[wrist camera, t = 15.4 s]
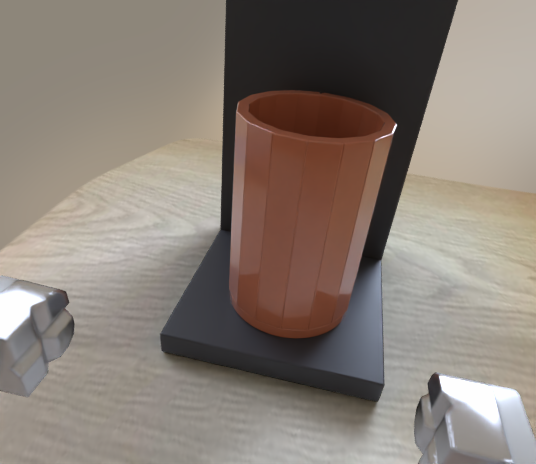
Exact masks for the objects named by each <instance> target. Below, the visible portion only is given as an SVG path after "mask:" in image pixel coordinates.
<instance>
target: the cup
mask: <svg viewBox="0 0 536 464" xmlns="http://www.w3.org/2000/svg"><path fill="white" fill-rule="evenodd" d="M396 127H397V124H396V123H395V121H394V120H393V119H392V118H391V116H390V115H389V114H388V113H386V112H384V111H382V110H380V109H378V108H377V107H375V106H373V105H371V104H368V103H365V102H362V101H359V100H355V99H352V98H349V97H344V96H339V95H334V94H328V93H321V92H312V91H300V90H296V91H295V90H283V91H268V92H263V93H258V94H253V95H249V96H248V97H246V98H244V99H242V100H240V101H239V102H238V104H237V110H236V128H235V152H234V176H233V200H232V224H231V248H230V273H229V296H230V300H231V303H232V305H233V307H234V309H235V310H236V312H237V313H238V314H239V316H240V317H241V318H242V319H244V320H245V321H246V322H247V323H248V324H250V325H251V326H253V327H255V328H256V329H258V330H260V331H263V332H265V333H268V334H271V335H274V336H278V337H283V338H310V337H315V336H319V335H321V334H324V333H326V332H328V331H330V330H332V329H333V328H335V327H336V326H337V325H338V324H340V323H341V322H342V320H343V319H344V317H345V316H346V314H347V312H348V308H349V304H350V301H351V298H352V295H353V291H354V287H355V283H356V279H357V276H358V272H359V268H360V264H361V260H362V257H363V253H364V249H365V245H366V241H367V238H368V234H369V230H370V226H371V222H372V219H373V215H374V211H375V207H376V203H377V199H378V196H379V192H380V188H381V184H382V180H383V177H384V173H385V169H386V165H387V161H388V158H389V154H390V150H391V146H392V142H393V138H394V135H395V131H396Z"/></svg>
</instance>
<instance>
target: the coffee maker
mask: <svg viewBox="0 0 536 464" xmlns="http://www.w3.org/2000/svg"><path fill="white" fill-rule="evenodd" d="M457 2H458V0H226V26H225V66H224V67H225V68H224V109H223V110H224V111H223V148H222V189H221V230H220V231H219V233H218V235H217V237H216V238H215V240H214V242H213V244H212V245H211V247H210V249H209V250H208V252H207V254H206V256H205V257H204V259H203V261H202V263H201V264H200V266H199V268H198V269H197V271H196V273H195V275H194V276H193V278H192V280H191V282H190V283H189V285H188V287H187V288H186V290H185V292H184V294H183V295H182V297H181V299H180V301H179V302H178V304H177V306H176V308H175V309H174V311H173V313H172V314H171V316H170V318H169V320H168V321H167V323H166V325H165V327H164V328H163V330H162V332H161V333H160V338H161V350H162V351H163V352H167V353H172V354H176V355H180V356H184V357H189V358H193V359H197V360H202V361H206V362H210V363H214V364H219V365H223V366H227V367H231V368H236V369H240V370H244V371H248V372H253V373H257V374H261V375H265V376H270V377H274V378H278V379H282V380H287V381H291V382H295V383H299V384H304V385H308V386H312V387H317V388H321V389H325V390H329V391H334V392H338V393H342V394H346V395H351V396H355V397H359V398H363V399H368V400H372V401H378V400H379V398H380V396H381V393H382V390H383V388H384V350H383V311H382V273H381V259H382V256H383V253H384V249H385V246H386V242H387V239H388V236H389V232H390V229H391V226H392V222H393V219H394V215H395V212H396V209H397V205H398V202H399V198H400V195H401V192H402V188H403V185H404V182H405V178H406V175H407V171H408V168H409V165H410V161H411V157H412V154H413V151H414V148H415V144H416V140H417V137H418V134H419V131H420V127H421V124H422V120H423V117H424V114H425V110H426V107H427V103H428V100H429V97H430V93H431V90H432V86H433V83H434V80H435V76H436V73H437V69H438V66H439V63H440V60H441V56H442V53H443V49H444V46H445V43H446V39H447V35H448V32H449V29H450V26H451V22H452V19H453V16H454V12H455V9H456V5H457ZM283 90H295V91H296V90H300V91H312V92H321V93H328V94H334V95H339V96H344V97H349V98H352V99H355V100H359V101H362V102H365V103H368V104H371V105H373V106H375V107H377V108H378V109H380V110H382V111H384V112H386V113H388V114H389V115H390V116H391V118H392V119H393V120H394V121H395V123H396V124H397V127H396V131H395V135H394V138H393V142H392V146H391V150H390V154H389V158H388V161H387V165H386V169H385V173H384V177H383V180H382V184H381V188H380V192H379V196H378V199H377V203H376V207H375V211H374V215H373V219H372V222H371V226H370V230H369V234H368V238H367V241H366V245H365V249H364V253H363V257H362V260H361V264H360V268H359V272H358V276H357V279H356V283H355V287H354V291H353V295H352V298H351V301H350V304H349V308H348V312H347V314H346V316H345V317H344V319H343V320H342V322H341V323H340V324H338V325H337V326H336V327H335V328H333V329H332V330H330V331H328V332H326V333H324V334H321V335H319V336H315V337H310V338H283V337H278V336H274V335H271V334H268V333H265V332H263V331H260V330H258V329H256V328H255V327H253V326H251V325H250V324H248V323H247V322H246V321H245V320H244V319H242V318H241V317H240V316H239V314H238V313H237V312H236V310H235V309H234V307H233V305H232V303H231V300H230V296H229V273H230V248H231V224H232V200H233V176H234V152H235V128H236V110H237V104H238V102H239V101H240V100H242V99H244V98H246V97H248V96H249V95H253V94H258V93H263V92H268V91H283Z"/></svg>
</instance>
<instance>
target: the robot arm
mask: <svg viewBox="0 0 536 464" xmlns="http://www.w3.org/2000/svg"><path fill="white" fill-rule="evenodd" d="M68 304H69V300H68V297H67V293H66V291H63V290H60V289H56V288H52V287H48V286H44V285H40V284H36V283H32V282H28V281H24V280H19V279H15V278H11V277H7V276H3V275H2V276H0V391H2V392H7V393H11V394H16V395H20V396H24V397H29V396H30V395H31V393H32V392H33V391H34V390H35V388H36V387H37V386H38V385H39V383H40V382H41V381H42V380H43V378H44V377H45V376H46V375H47V373H48V363H49V362H51V361H53V360H55V359H57V358H59V357H61V356H62V354H63V353H64V352H65V351H66V349H67V348H68V347H69V344H70V342H71V340H72V337H73V335H74V325H75V324H74V320H73V316H72V315H71V314H70V313H69V312H68V311H67V310H66V309H65V307H66V306H67V305H68ZM428 390H429V394H427V395H425V396H422V397H421V399H420V401H419V404H418V406H417V409H416V415H415V421H414V435H415V444H416V445H417V447H418V448H419V449H420V451H421V452H422V454H423V455H422V457H421V458H420V460H419V462H418V464H536V440H535V437H534V434H533V431H532V428H531V426H530V423H529V420H528V417H527V414H526V411H525V408H524V406H523V403H522V400H521V397H520V395H519V393H518V392H517V391H516V390H515V389H511V388H506V387H501V386H497V385H492V384H486V383H484V382H480V381H475V380H470V379H465V378H461V377H456V376H451V375H446V374H441V373H437V372H435V373H434V374H433V375H432V376H431V378H430V380H429V382H428Z"/></svg>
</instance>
